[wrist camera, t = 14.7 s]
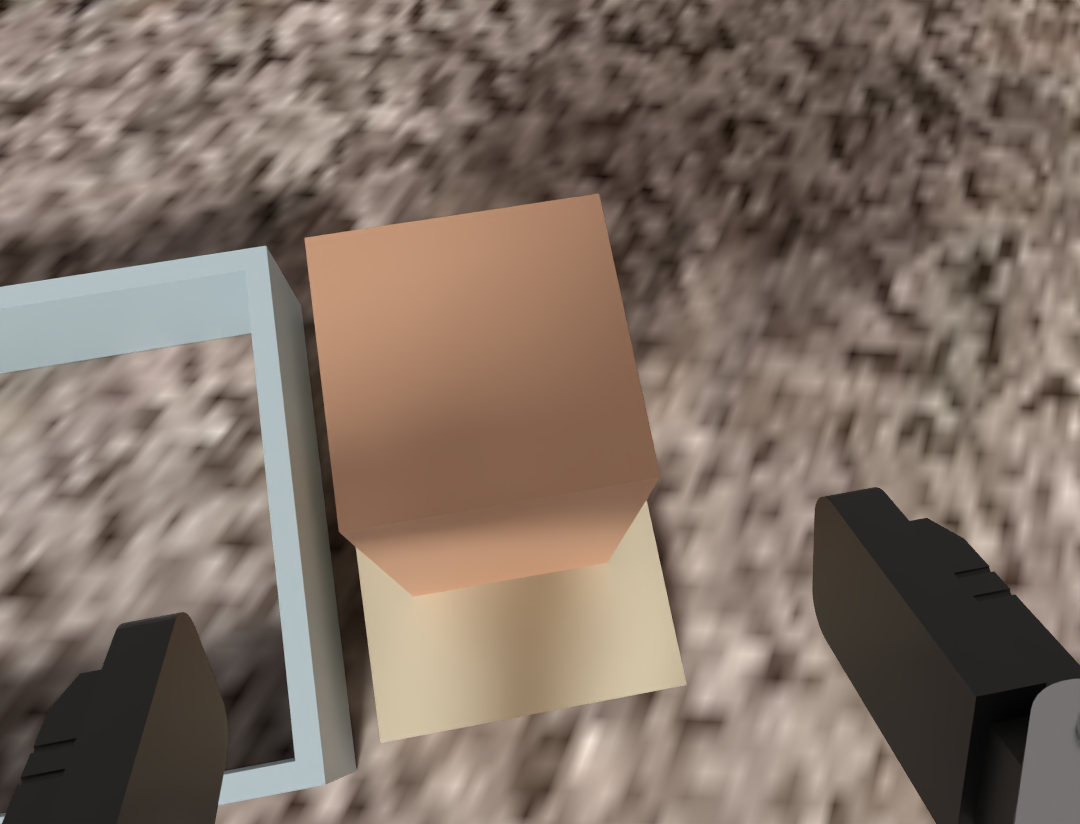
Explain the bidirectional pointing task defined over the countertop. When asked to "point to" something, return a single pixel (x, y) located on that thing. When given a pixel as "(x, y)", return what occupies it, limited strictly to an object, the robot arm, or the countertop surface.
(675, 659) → the block
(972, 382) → the countertop surface
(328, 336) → the terracotta box
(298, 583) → the square frame
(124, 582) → the countertop surface
